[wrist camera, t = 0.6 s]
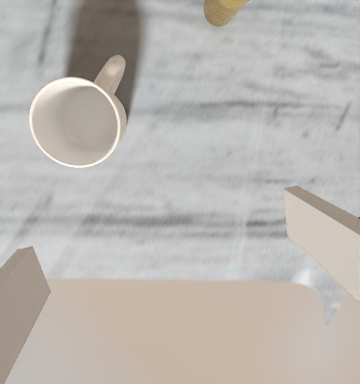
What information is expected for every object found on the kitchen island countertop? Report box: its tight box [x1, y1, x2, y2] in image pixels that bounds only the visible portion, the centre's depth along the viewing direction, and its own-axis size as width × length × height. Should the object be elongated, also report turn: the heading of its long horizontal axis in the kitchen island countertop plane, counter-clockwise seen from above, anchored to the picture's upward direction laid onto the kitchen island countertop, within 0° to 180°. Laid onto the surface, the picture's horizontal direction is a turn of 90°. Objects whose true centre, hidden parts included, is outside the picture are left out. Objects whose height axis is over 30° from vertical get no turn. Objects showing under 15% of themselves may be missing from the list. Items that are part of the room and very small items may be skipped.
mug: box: [29, 55, 127, 167], centre depth 32 cm, size 12×8×10 cm
